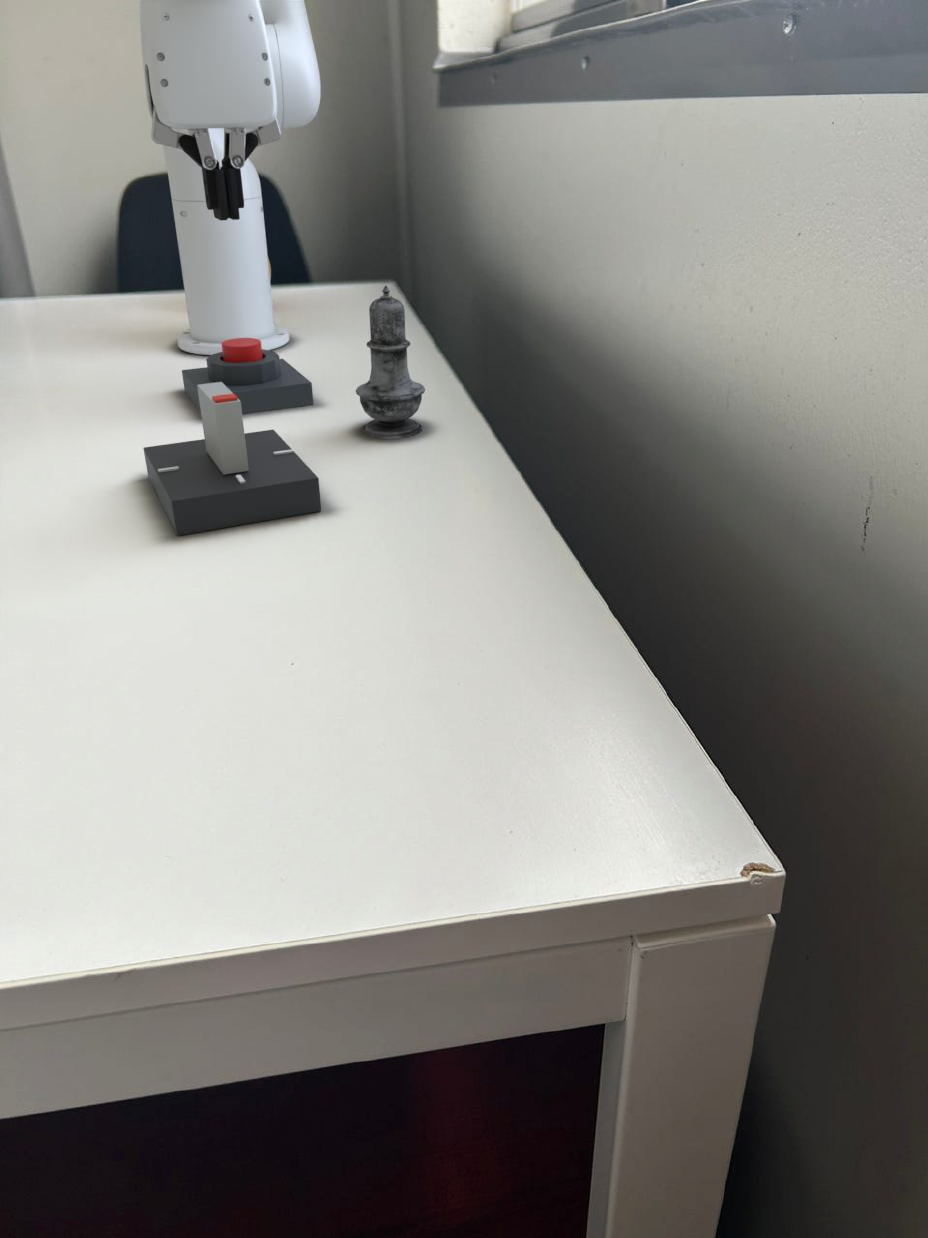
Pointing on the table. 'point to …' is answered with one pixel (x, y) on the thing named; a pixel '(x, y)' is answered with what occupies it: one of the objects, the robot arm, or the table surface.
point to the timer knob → (223, 427)
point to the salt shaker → (389, 374)
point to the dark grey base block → (231, 484)
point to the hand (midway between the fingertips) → (226, 217)
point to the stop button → (242, 350)
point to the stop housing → (253, 382)
